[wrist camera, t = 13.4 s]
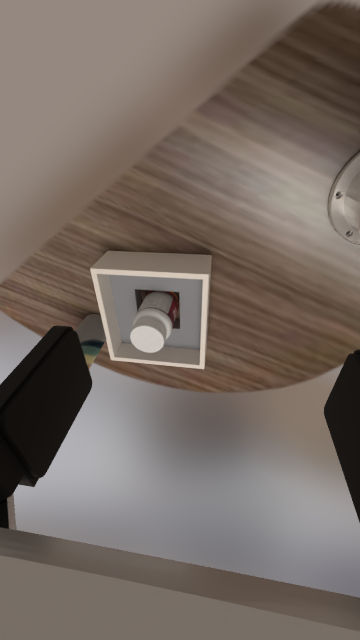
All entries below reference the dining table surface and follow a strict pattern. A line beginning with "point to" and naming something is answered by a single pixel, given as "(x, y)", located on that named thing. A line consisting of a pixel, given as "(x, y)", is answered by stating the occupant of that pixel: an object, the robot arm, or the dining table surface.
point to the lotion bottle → (91, 337)
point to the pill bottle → (154, 320)
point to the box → (159, 275)
